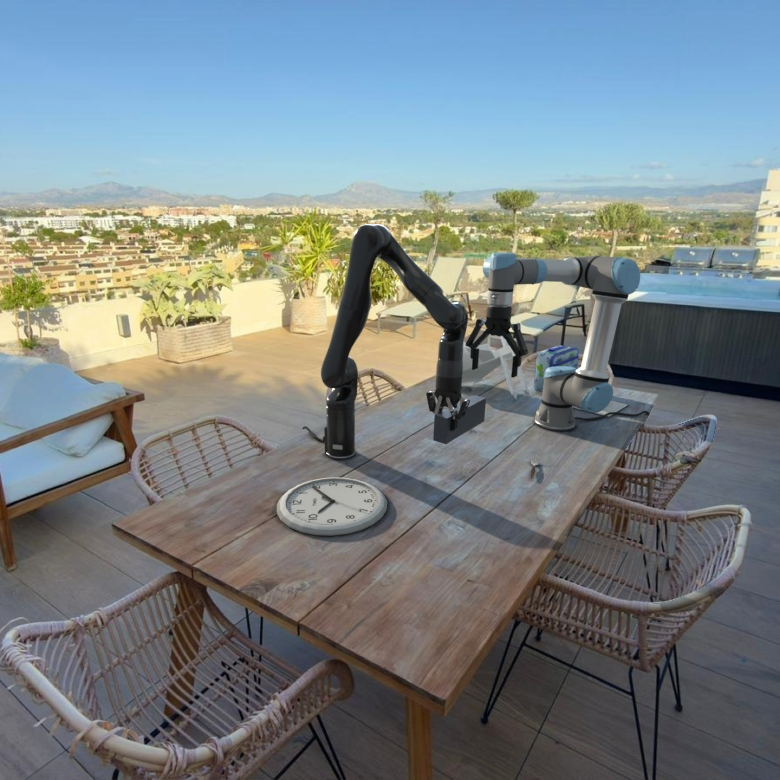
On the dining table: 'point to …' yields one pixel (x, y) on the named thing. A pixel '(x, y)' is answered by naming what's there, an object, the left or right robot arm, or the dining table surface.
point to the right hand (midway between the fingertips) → (494, 372)
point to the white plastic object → (491, 365)
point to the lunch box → (554, 362)
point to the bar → (459, 420)
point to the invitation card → (611, 408)
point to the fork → (534, 465)
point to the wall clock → (331, 506)
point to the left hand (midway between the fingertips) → (445, 428)
